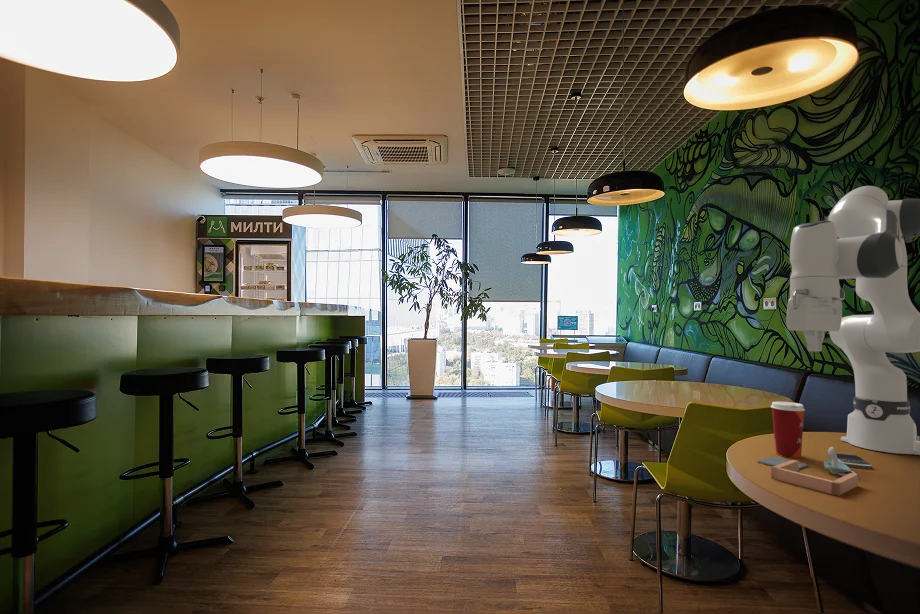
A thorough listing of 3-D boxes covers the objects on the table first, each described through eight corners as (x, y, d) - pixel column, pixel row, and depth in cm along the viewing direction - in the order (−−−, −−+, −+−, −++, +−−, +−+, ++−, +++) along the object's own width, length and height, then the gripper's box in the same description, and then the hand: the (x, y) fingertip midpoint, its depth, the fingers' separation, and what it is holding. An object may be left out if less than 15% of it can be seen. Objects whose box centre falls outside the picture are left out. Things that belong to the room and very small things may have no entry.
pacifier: (854, 473, 108) (823, 467, 111) (855, 447, 108) (823, 442, 112) (858, 481, 102) (825, 475, 106) (859, 454, 102) (825, 448, 106)
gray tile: (772, 457, 119) (772, 456, 119) (808, 466, 112) (808, 464, 112) (757, 462, 114) (757, 461, 114) (794, 471, 108) (794, 469, 108)
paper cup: (812, 460, 117) (811, 406, 118) (779, 458, 119) (778, 405, 119) (796, 451, 125) (795, 401, 125) (765, 450, 126) (765, 400, 127)
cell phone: (842, 468, 112) (842, 462, 112) (826, 456, 122) (826, 451, 123) (873, 471, 110) (873, 465, 110) (855, 459, 120) (855, 453, 120)
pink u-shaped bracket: (792, 469, 109) (792, 459, 109) (858, 485, 98) (857, 474, 98) (771, 478, 103) (771, 467, 103) (838, 496, 92) (838, 483, 92)
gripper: (811, 287, 94) (812, 352, 93) (847, 292, 105) (848, 351, 104) (777, 289, 99) (778, 351, 99) (815, 294, 110) (816, 349, 110)
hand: (814, 351), depth 102 cm, fingers closed
